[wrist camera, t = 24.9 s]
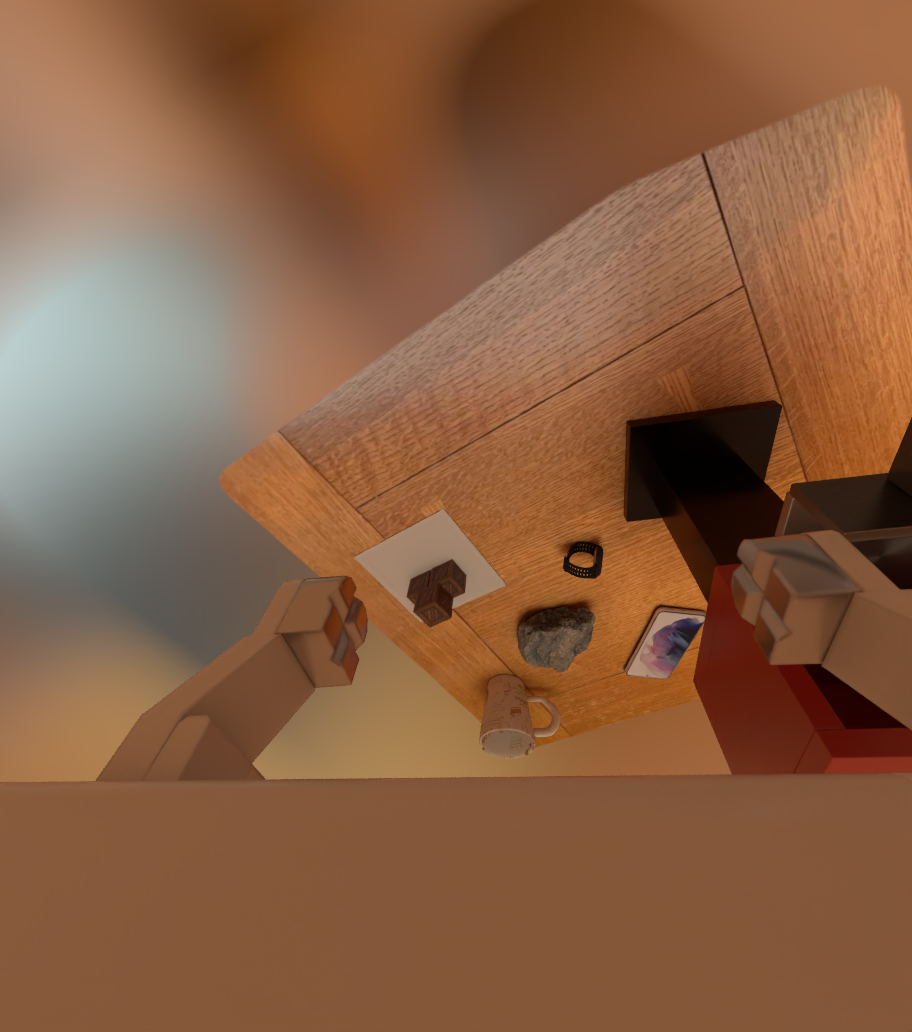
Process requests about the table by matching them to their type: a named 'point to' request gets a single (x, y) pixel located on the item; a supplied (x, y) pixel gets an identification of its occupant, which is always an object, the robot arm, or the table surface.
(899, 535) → the brown piece
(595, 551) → the smartwatch
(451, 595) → the stack of crates
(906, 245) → the table surface
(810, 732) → the stand
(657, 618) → the smartphone
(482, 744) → the mug
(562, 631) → the rock
